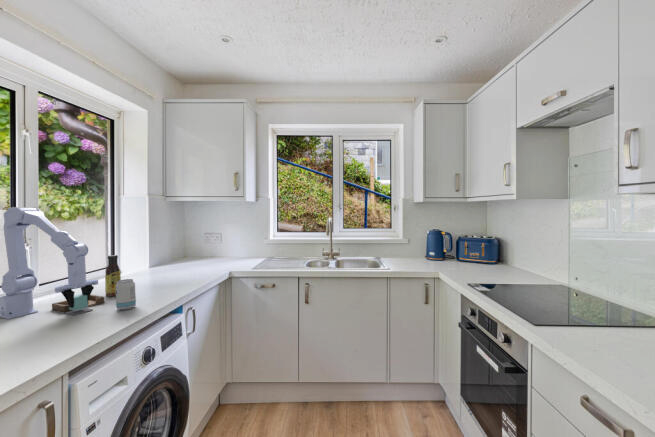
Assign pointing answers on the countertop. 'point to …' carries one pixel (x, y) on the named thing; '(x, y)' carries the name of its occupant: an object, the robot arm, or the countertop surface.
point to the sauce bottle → (112, 276)
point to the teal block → (80, 302)
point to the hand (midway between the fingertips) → (78, 305)
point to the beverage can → (125, 294)
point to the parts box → (64, 308)
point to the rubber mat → (78, 311)
